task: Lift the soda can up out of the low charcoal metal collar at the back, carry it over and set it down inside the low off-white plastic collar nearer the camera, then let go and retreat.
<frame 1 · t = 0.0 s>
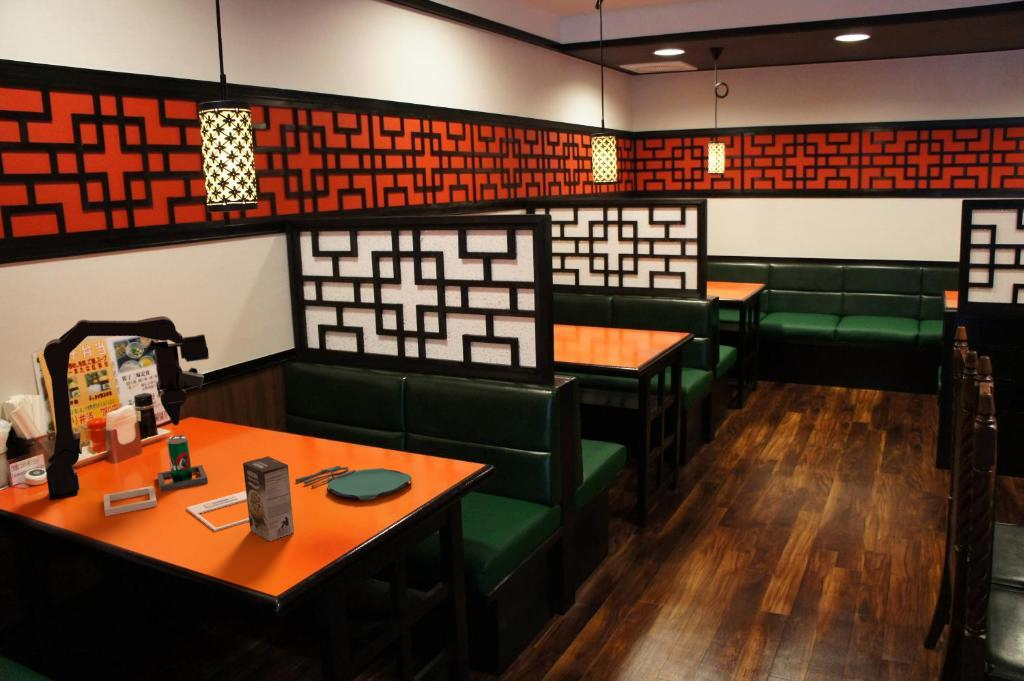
hand: (174, 420, 222), 15 cm above the table, fingers open, 9 cm apart
soda can: (182, 481, 218), resting in back socket
photo frame: (231, 513, 197), on the table
back socket: (182, 480, 218), on the table
coffee box: (272, 533, 183), on the table
front socket: (130, 503, 204), on the table
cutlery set: (356, 486, 211), on the table
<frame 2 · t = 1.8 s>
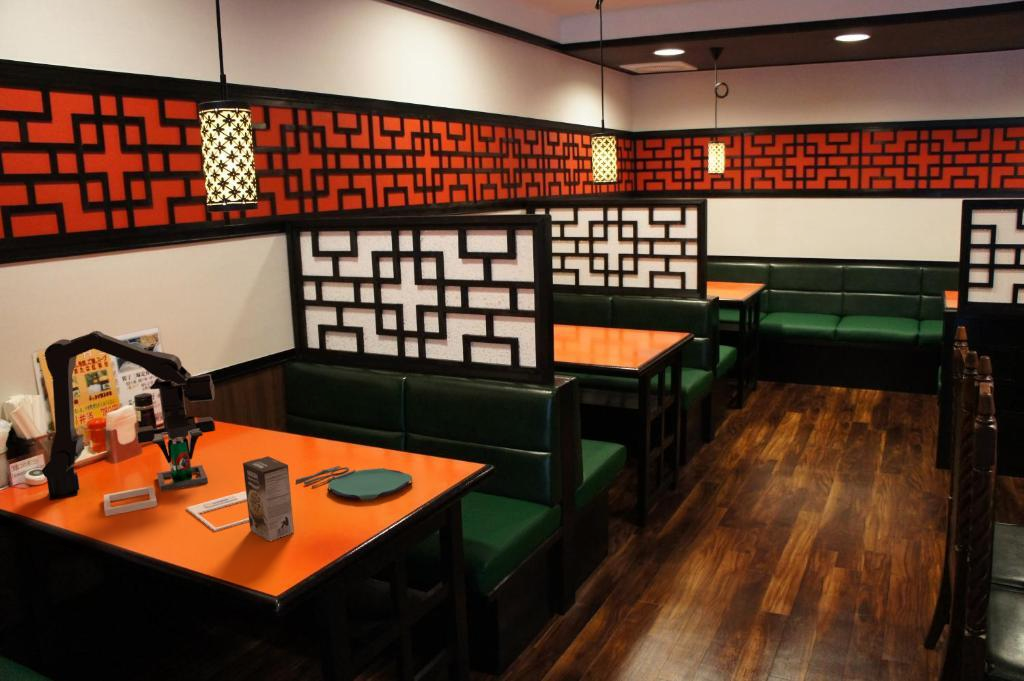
hand: (180, 460, 217), 6 cm above the table, fingers closed on soda can, 5 cm apart
soda can: (182, 481, 218), resting in back socket, touching gripper
everything else where it was.
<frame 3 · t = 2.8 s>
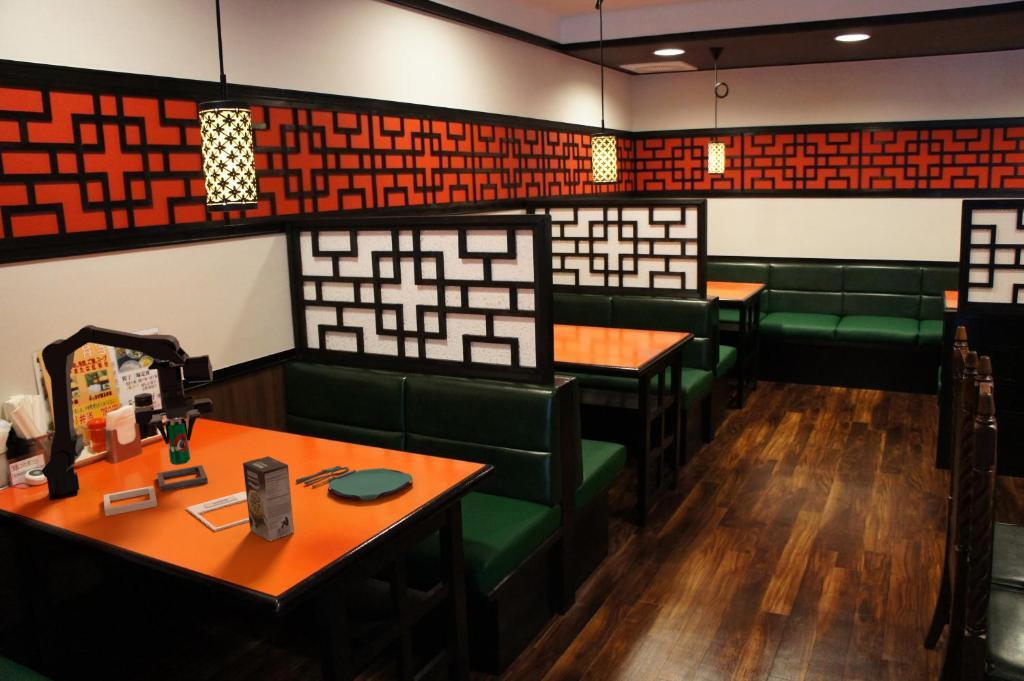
hand: (178, 442, 216), 11 cm above the table, fingers closed on soda can, 5 cm apart
soda can: (180, 463, 217), point 5 cm above the table, touching gripper
everything else where it was.
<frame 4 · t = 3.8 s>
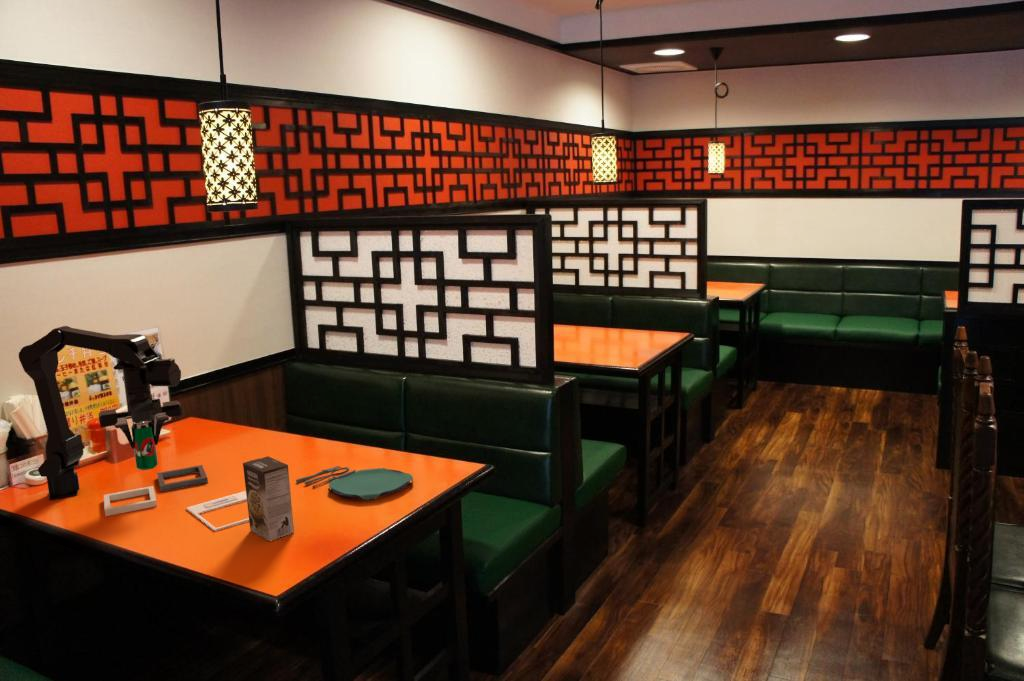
hand: (144, 446, 207), 13 cm above the table, fingers closed on soda can, 5 cm apart
soda can: (147, 468, 208), point 7 cm above the table, touching gripper
everything else where it was.
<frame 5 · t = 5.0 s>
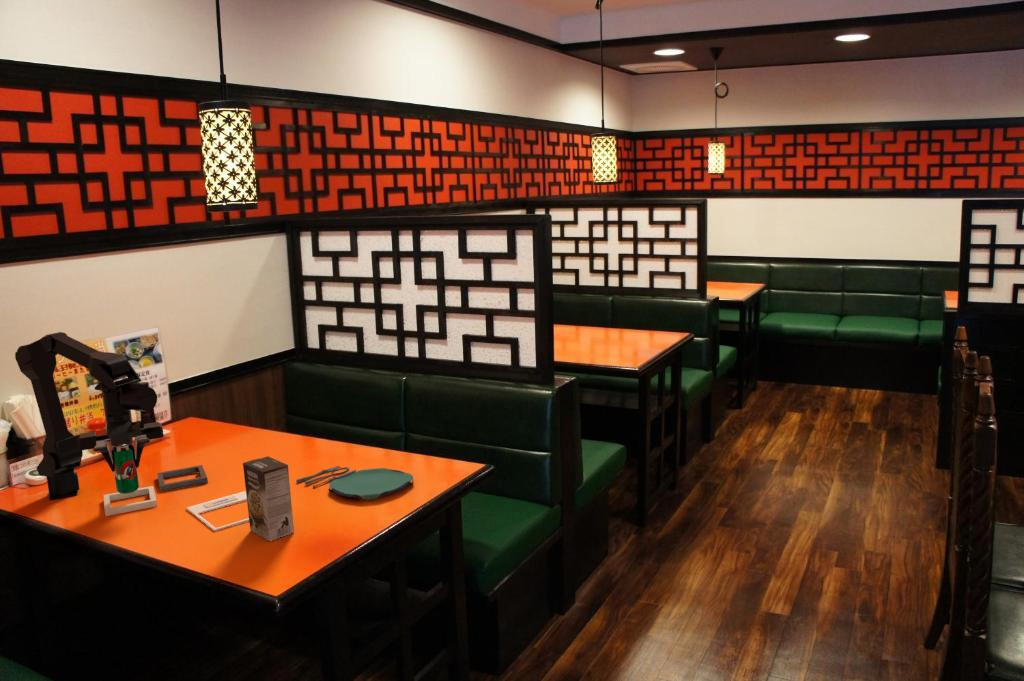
hand: (125, 469, 202), 9 cm above the table, fingers closed on soda can, 5 cm apart
soda can: (128, 491, 203), point 3 cm above the table, touching gripper
everything else where it was.
when the fingers open (6 cm above the table, at t = 5.8 s): soda can stays where it is, resting in front socket.
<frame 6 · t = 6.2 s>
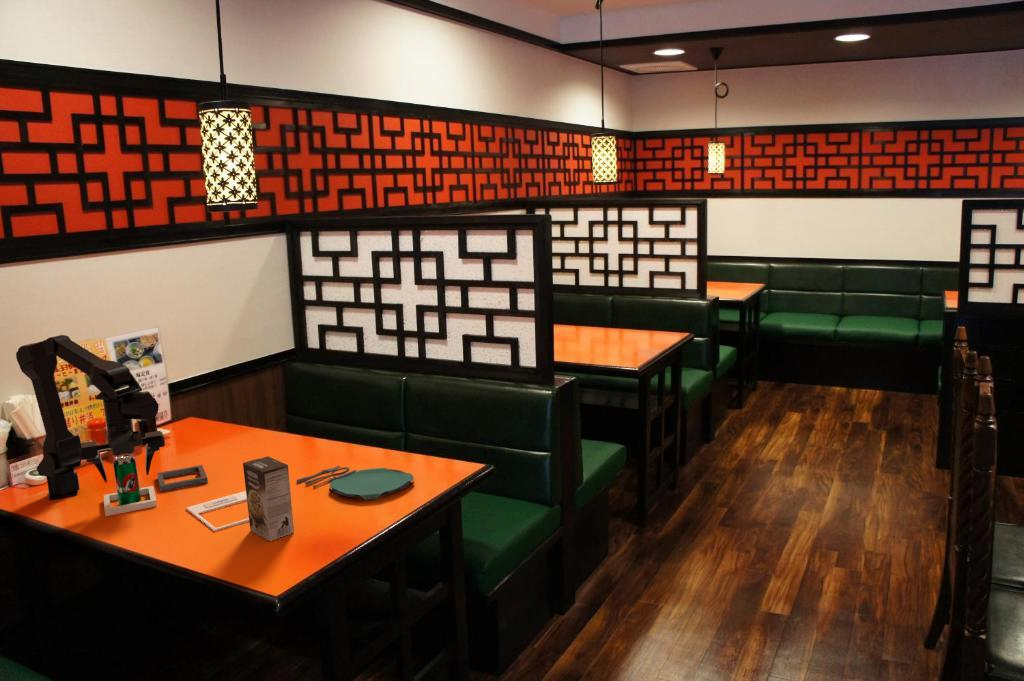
hand: (127, 478, 203), 6 cm above the table, fingers open, 9 cm apart
soda can: (130, 504, 204), resting in front socket
everything else where it was.
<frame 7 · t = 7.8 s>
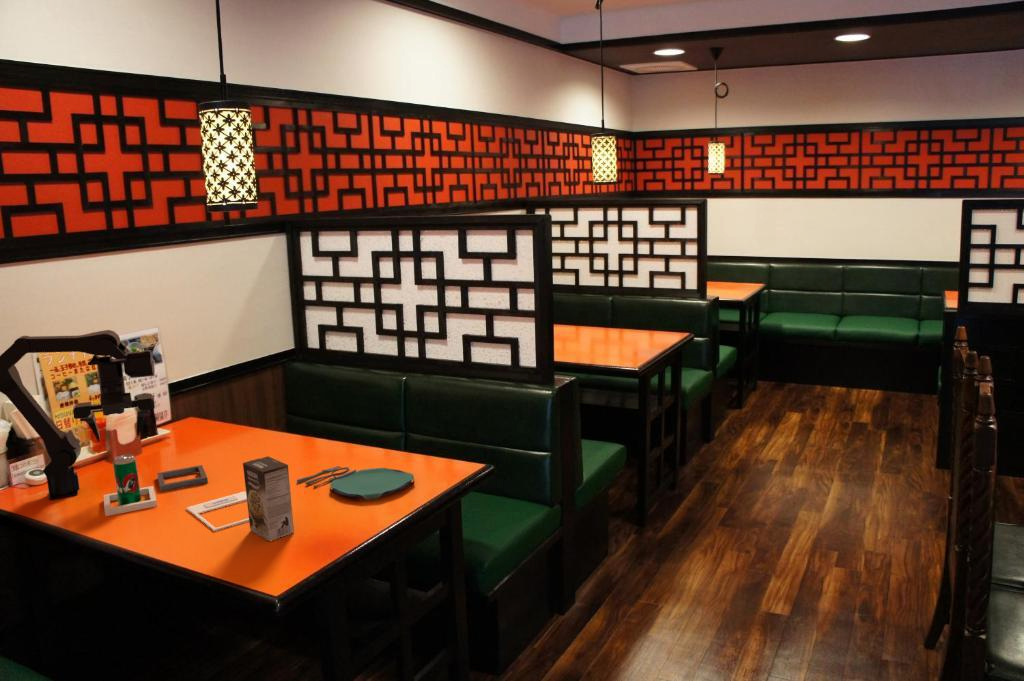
hand: (118, 438, 214), 13 cm above the table, fingers open, 9 cm apart
nothing on the table moved.
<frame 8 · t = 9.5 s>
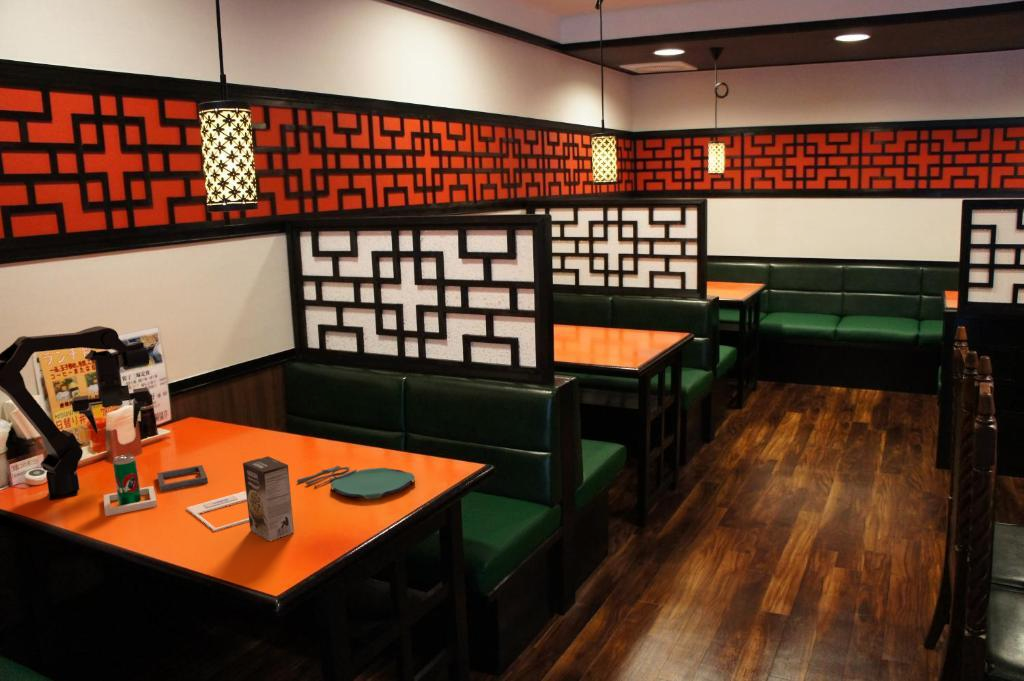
hand: (116, 430, 221), 13 cm above the table, fingers open, 9 cm apart
nothing on the table moved.
at the end: soda can 0.1 cm from the front socket (horizontally); soda can tilted 0°; the gripper is holding nothing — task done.
